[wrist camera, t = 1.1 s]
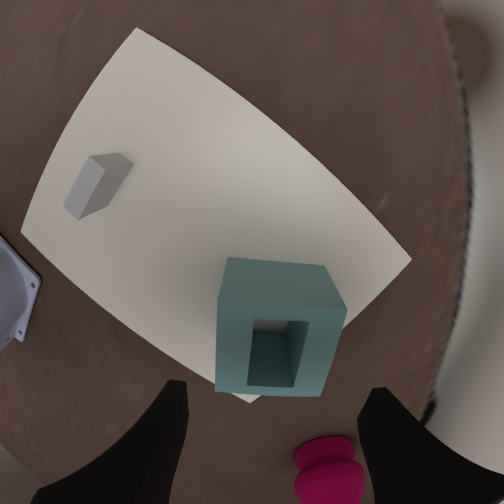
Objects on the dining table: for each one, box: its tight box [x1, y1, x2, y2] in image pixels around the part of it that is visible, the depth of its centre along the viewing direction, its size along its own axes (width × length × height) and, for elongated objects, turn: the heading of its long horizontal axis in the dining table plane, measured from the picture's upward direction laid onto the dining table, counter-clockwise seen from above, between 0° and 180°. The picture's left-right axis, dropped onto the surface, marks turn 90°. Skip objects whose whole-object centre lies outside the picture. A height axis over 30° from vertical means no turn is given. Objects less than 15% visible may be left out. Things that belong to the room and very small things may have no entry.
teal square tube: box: [215, 257, 348, 396], centre depth 15 cm, size 6×6×5 cm
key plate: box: [21, 28, 412, 403], centre depth 15 cm, size 16×22×5 cm
